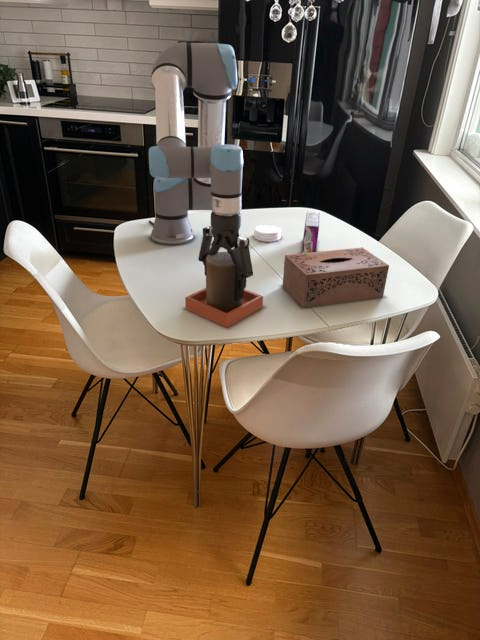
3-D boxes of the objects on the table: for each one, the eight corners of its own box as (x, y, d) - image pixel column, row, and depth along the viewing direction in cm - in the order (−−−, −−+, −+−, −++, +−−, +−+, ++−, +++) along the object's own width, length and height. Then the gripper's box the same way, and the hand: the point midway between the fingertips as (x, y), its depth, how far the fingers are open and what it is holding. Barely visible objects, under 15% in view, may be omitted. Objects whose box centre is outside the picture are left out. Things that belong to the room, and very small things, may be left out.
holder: (185, 308, 132) (185, 297, 130) (221, 290, 142) (222, 280, 140) (227, 327, 123) (227, 315, 122) (262, 307, 134) (263, 296, 132)
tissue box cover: (302, 307, 134) (306, 274, 129) (282, 286, 146) (285, 255, 141) (382, 297, 141) (389, 265, 137) (357, 277, 153) (362, 247, 148)
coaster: (261, 243, 176) (261, 234, 175) (249, 234, 184) (250, 225, 183) (285, 240, 180) (285, 231, 178) (273, 231, 188) (273, 223, 186)
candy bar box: (300, 256, 167) (303, 240, 181) (315, 257, 166) (316, 241, 181) (304, 224, 161) (306, 211, 176) (319, 226, 161) (320, 212, 175)
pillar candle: (235, 316, 127) (236, 263, 119) (200, 309, 129) (200, 257, 122) (246, 300, 135) (248, 249, 127) (214, 294, 137) (214, 244, 130)
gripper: (183, 205, 123) (185, 285, 134) (251, 225, 111) (247, 311, 122) (203, 199, 128) (204, 276, 139) (271, 218, 116) (265, 301, 127)
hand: (224, 293), depth 130 cm, fingers closed on pillar candle, 10 cm apart
